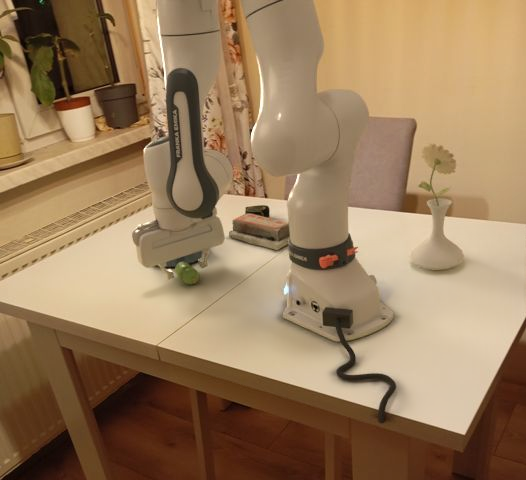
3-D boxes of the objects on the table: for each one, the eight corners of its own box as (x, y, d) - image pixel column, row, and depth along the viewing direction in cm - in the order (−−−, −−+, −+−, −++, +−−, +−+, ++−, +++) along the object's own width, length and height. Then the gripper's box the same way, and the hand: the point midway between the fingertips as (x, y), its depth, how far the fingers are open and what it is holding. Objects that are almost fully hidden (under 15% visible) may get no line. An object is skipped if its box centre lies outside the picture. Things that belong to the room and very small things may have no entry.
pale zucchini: (204, 285, 129) (201, 269, 127) (189, 290, 127) (186, 275, 125) (188, 272, 136) (185, 257, 134) (174, 277, 134) (170, 262, 132)
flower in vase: (474, 267, 121) (485, 146, 108) (425, 279, 119) (431, 158, 106) (441, 246, 132) (447, 134, 118) (396, 256, 130) (397, 144, 116)
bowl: (218, 256, 142) (214, 233, 139) (162, 274, 136) (157, 251, 133) (193, 239, 153) (189, 217, 150) (140, 255, 148) (135, 234, 144)
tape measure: (270, 215, 162) (269, 202, 160) (269, 224, 156) (268, 211, 154) (246, 217, 163) (244, 205, 161) (245, 226, 157) (243, 213, 155)
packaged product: (225, 220, 149) (251, 208, 154) (227, 238, 151) (253, 225, 157) (275, 232, 137) (302, 219, 143) (277, 251, 140) (303, 237, 145)
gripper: (134, 231, 118) (149, 291, 125) (222, 206, 125) (231, 263, 132) (125, 223, 122) (140, 281, 130) (210, 199, 130) (219, 255, 137)
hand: (186, 272), depth 131 cm, fingers open, 7 cm apart
